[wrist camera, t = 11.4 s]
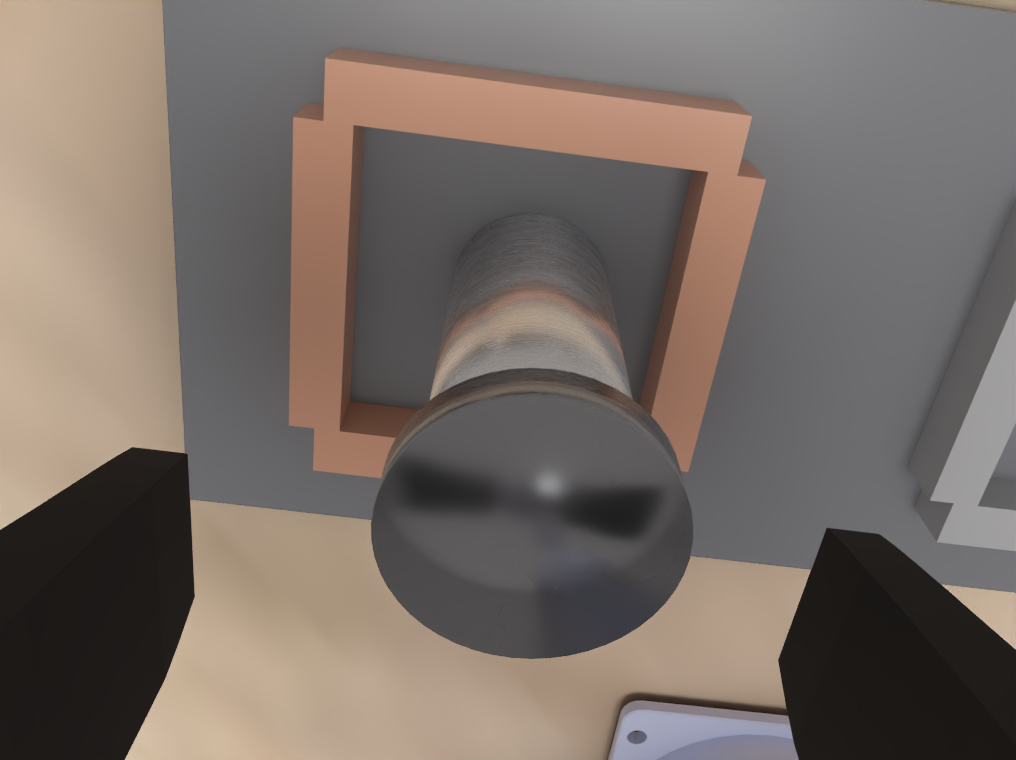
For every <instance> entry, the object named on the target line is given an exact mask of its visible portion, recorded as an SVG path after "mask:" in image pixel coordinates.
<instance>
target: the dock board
mask: <svg viewBox="0 0 1016 760" xmlns="http://www.w3.org/2000/svg"><path fill="white" fill-rule="evenodd" d="M162 4H163V24H164V44H165V64H166V84H167V104H168V123H169V143H170V163H171V183H172V203H173V223H174V242H175V262H176V282H177V302H178V322H179V342H180V361H181V381H182V401H183V421H184V441H185V454H188V470H189V491H190V499H191V500H200V501H209V502H218V503H227V504H236V505H244V506H253V507H262V508H271V509H280V510H289V511H298V512H306V513H315V514H324V515H333V516H342V517H351V518H359V519H368V520H372V516H373V509H374V504H375V500H376V496H377V492H378V488H379V484H380V480H381V476H382V472H383V468H384V465H385V462H386V459H387V456H388V452H389V450H390V448H391V446H392V444H393V442H394V440H395V438H396V436H397V435H398V434H399V432H400V431H401V429H402V428H403V427H404V425H405V424H406V422H407V421H408V420H409V419H410V418H411V417H412V416H413V415H414V414H415V413H416V412H417V411H418V410H419V409H420V408H421V407H422V406H423V405H425V404H426V403H427V402H429V401H430V395H431V390H432V385H433V380H434V375H435V369H436V364H437V359H438V354H439V349H440V344H441V338H442V333H443V328H444V323H445V318H446V313H447V307H448V302H449V297H450V292H451V287H452V282H453V276H454V271H455V267H456V264H457V261H458V258H459V256H460V254H461V252H462V250H463V249H464V247H465V246H466V244H467V243H468V242H469V240H470V239H471V238H472V237H473V236H474V235H475V234H476V233H477V232H479V231H480V230H481V229H482V228H484V227H485V226H487V225H488V224H490V223H492V222H494V221H496V220H498V219H500V218H503V217H506V216H509V215H514V214H519V213H542V214H547V215H552V216H555V217H558V218H561V219H563V220H565V221H567V222H569V223H571V224H573V225H574V226H576V227H577V228H579V229H580V230H581V231H582V232H583V233H585V234H586V235H587V236H588V238H589V239H590V240H591V241H592V242H593V243H594V245H595V246H596V248H597V249H598V251H599V253H600V255H601V257H602V259H603V263H604V266H605V269H606V274H607V279H608V283H609V288H610V293H611V298H612V303H613V307H614V312H615V317H616V322H617V327H618V331H619V336H620V341H621V346H622V351H623V356H624V360H625V365H626V370H627V375H628V380H629V384H630V389H631V394H632V399H633V400H634V401H635V402H636V403H638V404H639V405H640V406H641V407H643V408H644V409H645V410H646V411H647V412H648V413H649V414H650V415H651V416H652V417H653V418H654V419H655V421H656V422H657V423H658V424H659V425H660V427H661V428H662V430H663V431H664V433H665V434H666V435H667V437H668V439H669V441H670V443H671V445H672V447H673V449H674V451H675V453H676V456H677V459H678V462H679V466H680V469H681V473H682V476H683V480H684V484H685V488H686V491H687V495H688V499H689V503H690V506H691V512H692V519H693V544H692V549H691V554H690V556H696V557H705V558H714V559H723V560H731V561H740V562H749V563H758V564H767V565H776V566H784V567H793V568H802V569H812V567H813V564H814V561H815V558H816V556H817V553H818V550H819V547H820V545H821V542H822V539H823V536H824V534H825V531H826V528H833V529H842V530H851V531H859V532H868V533H876V534H880V535H882V536H883V537H884V538H885V539H887V540H888V541H889V542H891V543H892V544H893V545H895V546H896V547H897V548H898V549H900V550H901V551H902V552H903V553H905V554H906V555H907V556H908V557H909V558H911V559H912V560H913V561H914V562H915V563H917V564H918V565H919V566H920V567H921V568H922V569H923V570H925V571H926V572H927V573H928V574H929V575H930V576H932V577H933V578H934V579H935V580H936V581H937V582H939V583H940V584H944V585H953V586H962V587H970V588H979V589H988V590H997V591H1006V592H1015V593H1016V12H1015V11H1008V10H1001V9H994V8H987V7H980V6H973V5H966V4H959V3H952V2H945V1H938V0H162Z"/></svg>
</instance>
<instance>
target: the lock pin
mask: <svg viewBox="0 0 1016 760" xmlns="http://www.w3.org/2000/svg"><path fill="white" fill-rule="evenodd" d="M371 533H372V545H373V551H374V556H375V559H376V562H377V565H378V568H379V571H380V573H381V575H382V577H383V579H384V581H385V583H386V584H387V586H388V588H389V589H390V591H391V592H392V593H393V595H394V596H395V598H396V599H397V600H398V602H399V603H400V604H401V605H402V606H403V607H404V608H405V609H406V610H407V611H408V612H409V613H410V614H411V615H412V616H413V617H415V618H416V619H417V620H418V621H419V622H421V623H422V624H423V625H424V626H426V627H428V628H429V629H431V630H432V631H434V632H435V633H437V634H439V635H440V636H442V637H444V638H446V639H448V640H450V641H452V642H455V643H457V644H459V645H462V646H465V647H468V648H470V649H473V650H476V651H480V652H484V653H488V654H492V655H498V656H505V657H511V658H528V659H535V658H553V657H561V656H568V655H573V654H577V653H581V652H585V651H589V650H592V649H595V648H598V647H601V646H603V645H606V644H608V643H610V642H613V641H615V640H617V639H619V638H621V637H623V636H625V635H626V634H628V633H630V632H631V631H633V630H635V629H636V628H638V627H639V626H641V625H642V624H643V623H644V622H646V621H647V620H648V619H649V618H651V617H652V616H653V615H654V614H655V613H656V612H657V611H658V610H659V609H660V608H661V607H662V606H663V605H664V604H665V603H666V601H667V600H668V599H669V598H670V596H671V595H672V594H673V592H674V591H675V590H676V588H677V586H678V584H679V582H680V581H681V579H682V577H683V575H684V573H685V570H686V567H687V564H688V562H689V559H690V554H691V549H692V544H693V519H692V512H691V506H690V503H689V499H688V495H687V491H686V488H685V484H684V480H683V476H682V473H681V469H680V466H679V462H678V459H677V456H676V453H675V451H674V449H673V447H672V445H671V443H670V441H669V439H668V437H667V435H666V434H665V433H664V431H663V430H662V428H661V427H660V425H659V424H658V423H657V422H656V421H655V419H654V418H653V417H652V416H651V415H650V414H649V413H648V412H647V411H646V410H645V409H644V408H643V407H641V406H640V405H639V404H638V403H636V402H635V401H634V400H633V399H632V394H631V389H630V384H629V380H628V375H627V370H626V365H625V360H624V356H623V351H622V346H621V341H620V336H619V331H618V327H617V322H616V317H615V312H614V307H613V303H612V298H611V293H610V288H609V283H608V279H607V274H606V269H605V266H604V263H603V259H602V257H601V255H600V253H599V251H598V249H597V248H596V246H595V245H594V243H593V242H592V241H591V240H590V239H589V238H588V236H587V235H586V234H585V233H583V232H582V231H581V230H580V229H579V228H577V227H576V226H574V225H573V224H571V223H569V222H567V221H565V220H563V219H561V218H558V217H555V216H552V215H547V214H542V213H519V214H514V215H509V216H506V217H503V218H500V219H498V220H496V221H494V222H492V223H490V224H488V225H487V226H485V227H484V228H482V229H481V230H480V231H479V232H477V233H476V234H475V235H474V236H473V237H472V238H471V239H470V240H469V242H468V243H467V244H466V246H465V247H464V249H463V250H462V252H461V254H460V256H459V258H458V261H457V264H456V267H455V271H454V276H453V282H452V287H451V292H450V297H449V302H448V307H447V313H446V318H445V323H444V328H443V333H442V338H441V344H440V349H439V354H438V359H437V364H436V369H435V375H434V380H433V385H432V390H431V395H430V401H429V402H427V403H426V404H425V405H423V406H422V407H421V408H420V409H419V410H418V411H417V412H416V413H415V414H414V415H413V416H412V417H411V418H410V419H409V420H408V421H407V422H406V424H405V425H404V427H403V428H402V429H401V431H400V432H399V434H398V435H397V436H396V438H395V440H394V442H393V444H392V446H391V448H390V450H389V452H388V456H387V459H386V462H385V465H384V468H383V472H382V476H381V480H380V484H379V488H378V492H377V496H376V500H375V504H374V509H373V516H372V522H371Z"/></svg>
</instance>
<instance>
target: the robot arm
mask: <svg viewBox="0 0 1016 760" xmlns="http://www.w3.org/2000/svg"><path fill="white" fill-rule="evenodd" d="M194 597H195V595H194V574H193V553H192V533H191V512H190V491H189V470H188V454H185V453H177V452H168V451H160V450H151V449H142V448H134V447H132V448H130V449H128V450H127V451H125V452H123V453H121V454H120V455H118V456H116V457H115V458H113V459H111V460H110V461H108V462H107V463H105V464H103V465H102V466H100V467H99V468H97V469H96V470H94V471H92V472H91V473H89V474H88V475H86V476H85V477H83V478H81V479H80V480H78V481H77V482H75V483H74V484H72V485H71V486H69V487H68V488H66V489H64V490H63V491H61V492H60V493H58V494H57V495H55V496H54V497H52V498H50V499H49V500H47V501H46V502H44V503H43V504H41V505H39V506H38V507H36V508H35V509H33V510H31V511H30V512H28V513H27V514H25V515H23V516H22V517H20V518H19V519H17V520H15V521H14V522H12V523H11V524H9V525H7V526H6V527H4V528H3V529H1V530H0V760H125V758H126V756H127V754H128V752H129V750H130V748H131V746H132V744H133V742H134V740H135V738H136V736H137V734H138V732H139V730H140V728H141V726H142V724H143V722H144V720H145V718H146V716H147V714H148V712H149V710H150V708H151V706H152V704H153V702H154V700H155V698H156V696H157V694H158V692H159V690H160V688H161V686H162V684H163V682H164V680H165V678H166V675H167V672H168V670H169V667H170V664H171V662H172V659H173V656H174V654H175V651H176V648H177V646H178V643H179V640H180V637H181V634H182V631H183V628H184V626H185V623H186V620H187V617H188V614H189V611H190V608H191V605H192V602H193V600H194ZM778 661H779V667H780V673H781V679H782V684H783V690H784V696H785V702H786V707H787V712H788V716H785V715H775V714H766V713H756V712H747V711H738V710H728V709H719V708H709V707H700V706H690V705H681V704H671V703H662V702H652V701H643V700H641V701H633V702H630V703H628V704H627V705H625V706H624V707H623V709H622V710H621V713H620V716H619V720H618V724H617V728H616V732H615V735H614V739H613V743H612V747H611V751H610V754H609V758H608V760H1016V650H1015V649H1014V648H1013V647H1012V646H1011V645H1010V644H1008V643H1007V642H1006V641H1005V640H1004V639H1003V638H1001V637H1000V636H999V635H998V634H997V633H996V632H994V631H993V630H992V629H991V628H990V627H989V626H988V625H986V624H985V623H984V622H983V621H982V620H981V619H980V618H978V617H977V616H976V615H975V614H974V613H973V612H972V611H970V610H969V609H968V608H967V607H966V606H965V605H964V604H962V603H961V602H960V601H959V600H958V599H957V598H956V597H955V596H953V595H952V594H951V593H950V592H949V591H948V590H947V589H945V588H944V587H943V586H942V585H941V584H940V583H939V582H937V581H936V580H935V579H934V578H933V577H932V576H930V575H929V574H928V573H927V572H926V571H925V570H923V569H922V568H921V567H920V566H919V565H918V564H917V563H915V562H914V561H913V560H912V559H911V558H909V557H908V556H907V555H906V554H905V553H903V552H902V551H901V550H900V549H898V548H897V547H896V546H895V545H893V544H892V543H891V542H889V541H888V540H887V539H885V538H884V537H883V536H882V535H880V534H876V533H868V532H859V531H851V530H842V529H833V528H826V531H825V534H824V536H823V539H822V542H821V545H820V547H819V550H818V553H817V556H816V558H815V561H814V564H813V567H812V569H811V572H810V575H809V577H808V580H807V583H806V586H805V588H804V591H803V594H802V597H801V599H800V602H799V605H798V608H797V610H796V613H795V616H794V619H793V621H792V624H791V627H790V629H789V632H788V635H787V638H786V640H785V643H784V646H783V649H782V651H781V654H780V657H779V660H778ZM638 730H639V732H632V731H638Z"/></svg>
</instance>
